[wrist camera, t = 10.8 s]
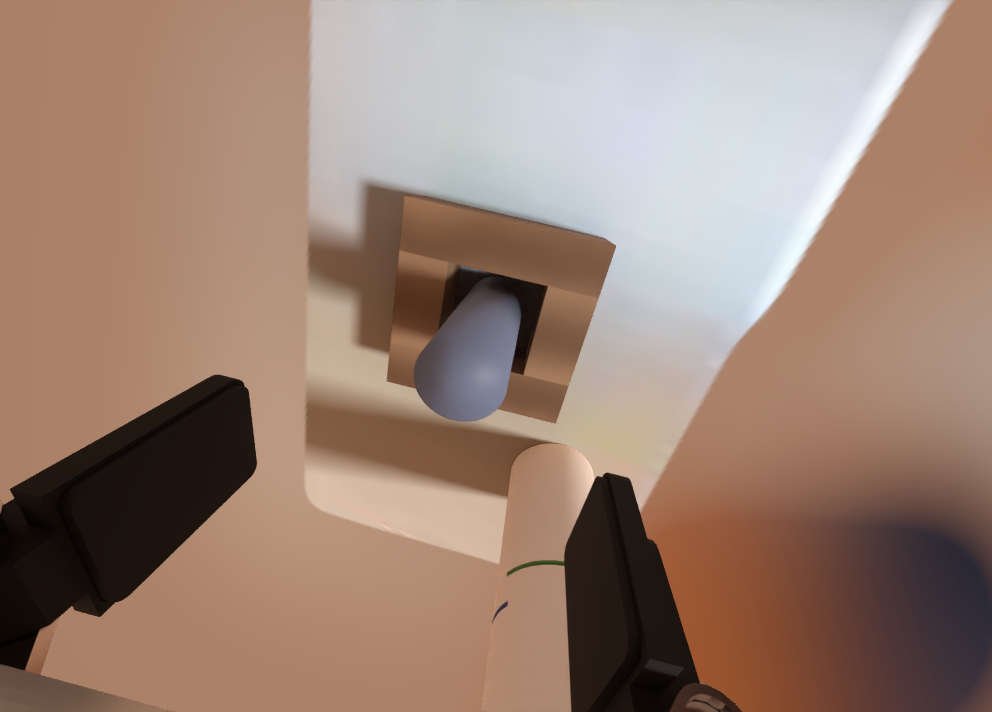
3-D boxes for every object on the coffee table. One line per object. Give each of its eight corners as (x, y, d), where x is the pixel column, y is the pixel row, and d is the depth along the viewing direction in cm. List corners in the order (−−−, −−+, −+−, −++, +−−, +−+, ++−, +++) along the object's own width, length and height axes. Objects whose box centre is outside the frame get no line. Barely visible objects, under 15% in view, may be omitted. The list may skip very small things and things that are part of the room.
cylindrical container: (497, 485, 33) (389, 1137, 10) (535, 429, 30) (506, 1170, 7) (565, 518, 33) (610, 1206, 11) (610, 467, 30) (803, 1262, 8)
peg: (473, 270, 25) (419, 325, 14) (529, 283, 25) (517, 349, 14) (464, 322, 27) (408, 409, 16) (516, 335, 27) (496, 431, 16)
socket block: (425, 196, 24) (404, 196, 20) (605, 238, 23) (616, 245, 20) (406, 358, 29) (386, 381, 25) (554, 394, 28) (555, 423, 25)
